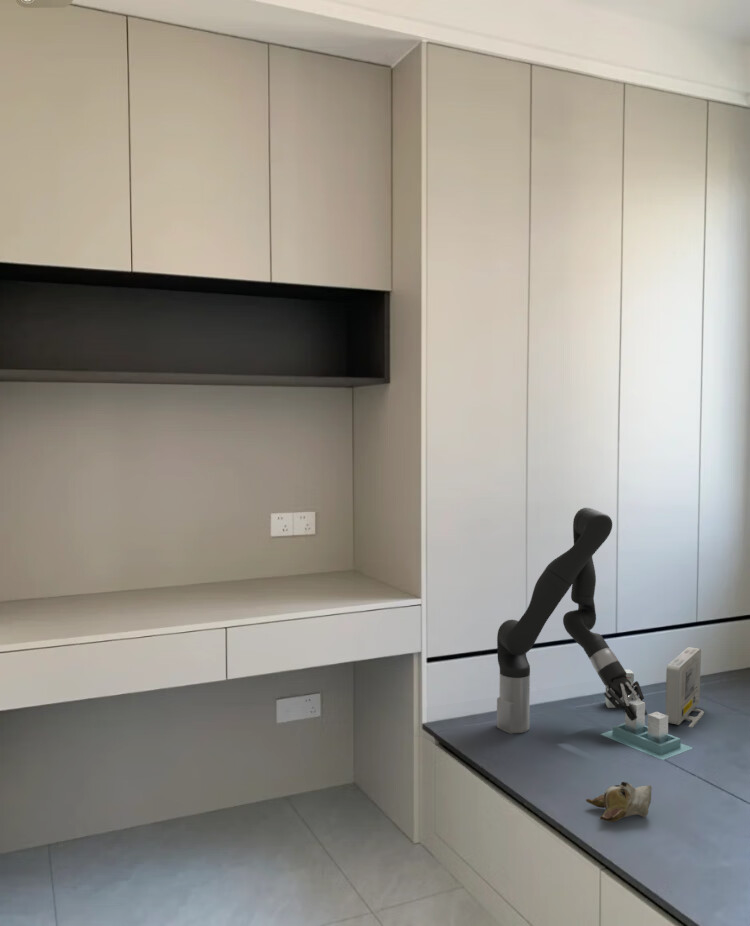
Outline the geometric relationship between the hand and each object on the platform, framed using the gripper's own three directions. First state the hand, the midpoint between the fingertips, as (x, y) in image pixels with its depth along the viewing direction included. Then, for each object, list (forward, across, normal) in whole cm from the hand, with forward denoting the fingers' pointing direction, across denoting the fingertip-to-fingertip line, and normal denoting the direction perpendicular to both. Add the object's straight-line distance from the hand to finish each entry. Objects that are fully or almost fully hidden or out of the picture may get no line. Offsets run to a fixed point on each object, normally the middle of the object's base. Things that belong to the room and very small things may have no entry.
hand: (639, 717), depth 246 cm
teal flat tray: (+7, 0, +4) cm, 8 cm away
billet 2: (+9, 0, 0) cm, 9 cm away
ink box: (-11, +20, +22) cm, 32 cm away
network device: (+3, +28, +9) cm, 29 cm away
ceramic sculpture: (+24, -39, -12) cm, 47 cm away
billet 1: (+2, 0, +5) cm, 5 cm away
